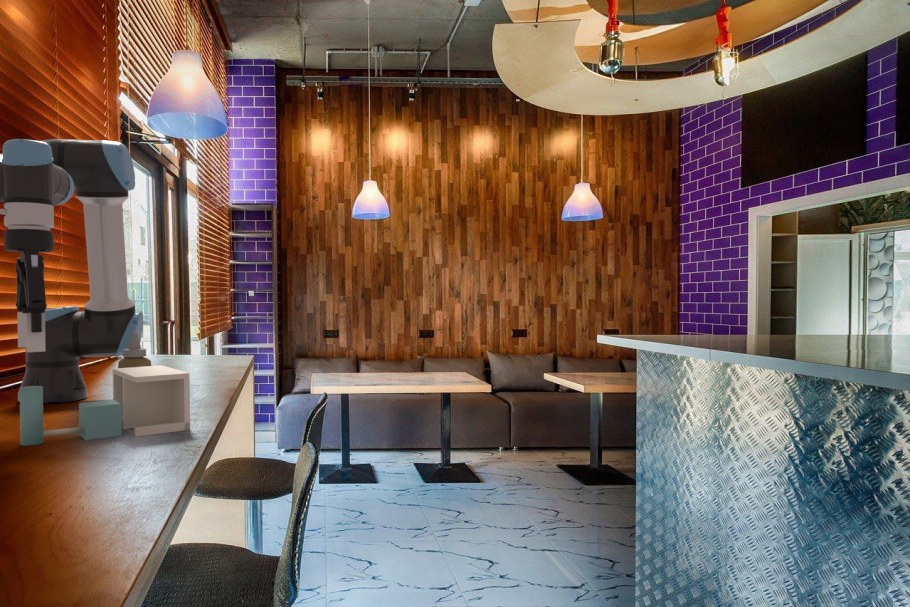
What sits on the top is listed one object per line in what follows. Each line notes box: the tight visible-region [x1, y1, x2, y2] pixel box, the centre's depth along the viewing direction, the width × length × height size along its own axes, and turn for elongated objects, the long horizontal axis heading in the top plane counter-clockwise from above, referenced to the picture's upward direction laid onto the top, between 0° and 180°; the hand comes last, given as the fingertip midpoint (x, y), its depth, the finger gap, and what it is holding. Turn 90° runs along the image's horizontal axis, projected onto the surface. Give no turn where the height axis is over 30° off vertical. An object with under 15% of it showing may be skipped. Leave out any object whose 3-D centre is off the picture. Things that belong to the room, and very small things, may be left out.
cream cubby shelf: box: [112, 364, 191, 437], centre depth 139 cm, size 19×10×11 cm, turn 37°
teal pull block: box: [19, 386, 123, 447], centre depth 127 cm, size 6×16×10 cm, turn 128°
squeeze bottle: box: [117, 333, 152, 368], centre depth 152 cm, size 8×8×18 cm
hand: (31, 349), depth 123 cm, fingers open, 13 cm apart
